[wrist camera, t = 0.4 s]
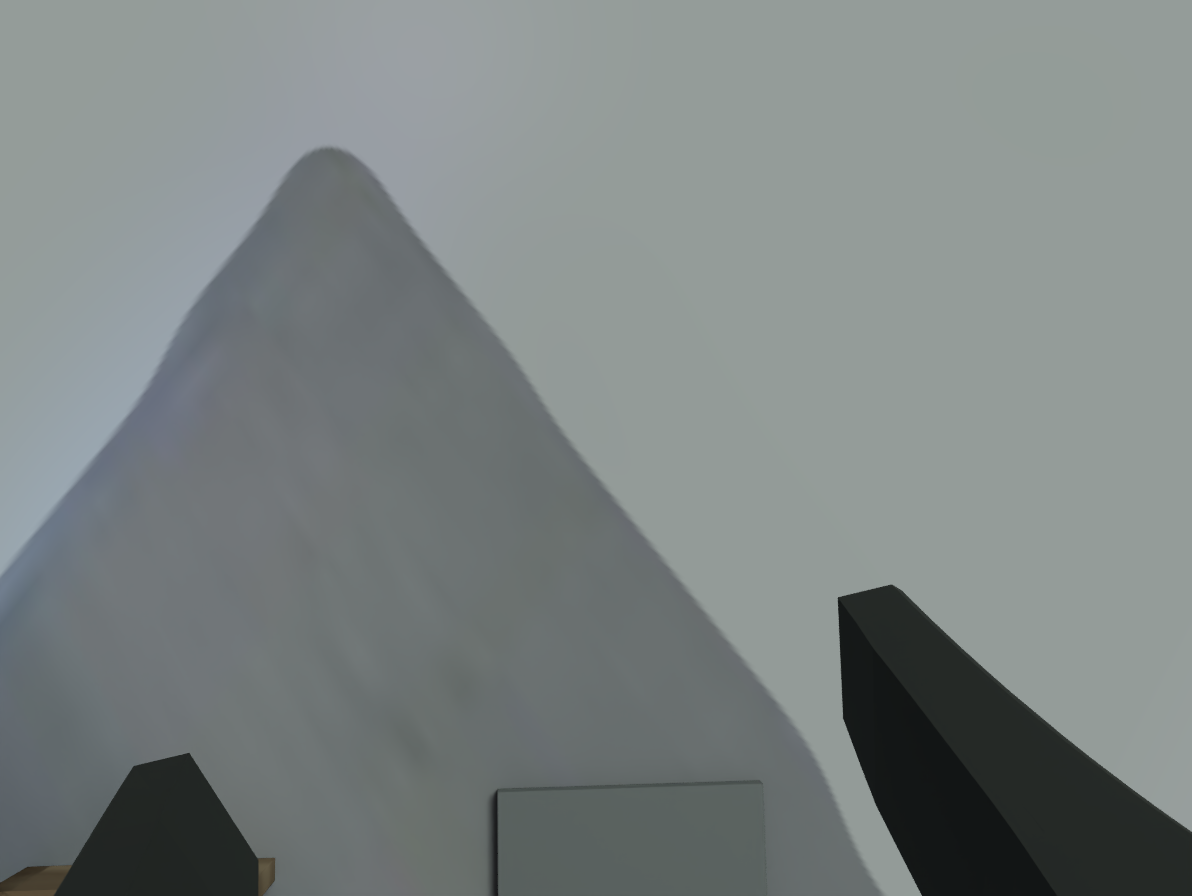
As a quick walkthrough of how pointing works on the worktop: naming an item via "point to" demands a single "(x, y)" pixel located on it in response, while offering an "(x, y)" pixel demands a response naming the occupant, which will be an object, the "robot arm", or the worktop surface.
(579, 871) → the mat
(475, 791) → the worktop surface
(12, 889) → the arch frame
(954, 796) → the robot arm
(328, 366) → the worktop surface
